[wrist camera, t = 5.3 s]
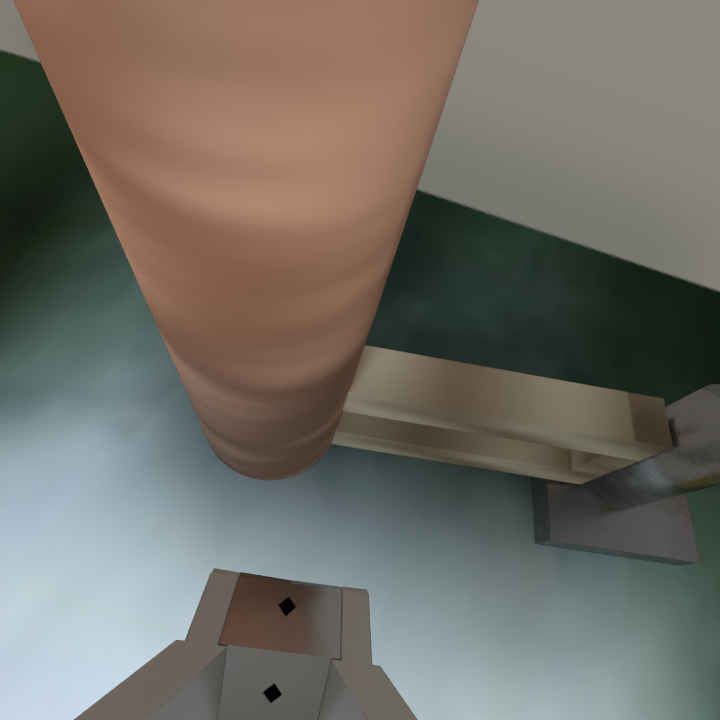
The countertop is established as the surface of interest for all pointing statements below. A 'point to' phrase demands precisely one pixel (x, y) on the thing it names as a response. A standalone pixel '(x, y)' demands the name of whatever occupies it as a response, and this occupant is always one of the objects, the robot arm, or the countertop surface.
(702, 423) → the hinge post
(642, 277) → the countertop surface
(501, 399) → the wooden dowel roller
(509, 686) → the countertop surface
